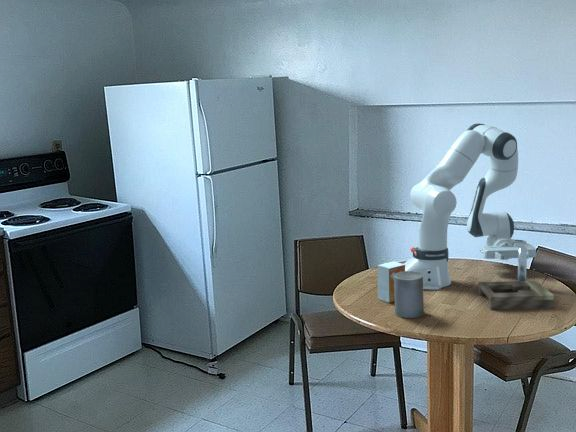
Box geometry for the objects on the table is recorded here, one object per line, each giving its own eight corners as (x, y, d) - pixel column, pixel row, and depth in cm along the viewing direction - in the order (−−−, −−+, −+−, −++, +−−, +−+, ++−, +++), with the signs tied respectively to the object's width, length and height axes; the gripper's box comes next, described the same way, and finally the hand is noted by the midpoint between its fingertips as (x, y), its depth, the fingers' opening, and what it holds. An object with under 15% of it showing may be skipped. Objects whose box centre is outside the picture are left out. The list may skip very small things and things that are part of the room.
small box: (389, 303, 227) (388, 268, 225) (377, 299, 232) (376, 264, 230) (405, 298, 232) (405, 264, 229) (394, 294, 237) (393, 260, 234)
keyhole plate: (490, 309, 216) (491, 297, 215) (478, 294, 233) (478, 282, 232) (553, 308, 215) (553, 295, 214) (536, 292, 232) (536, 280, 231)
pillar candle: (411, 306, 223) (410, 265, 220) (429, 314, 214) (429, 272, 211) (389, 312, 218) (387, 270, 215) (406, 320, 210) (405, 277, 207)
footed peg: (516, 289, 236) (517, 250, 233) (511, 284, 242) (512, 246, 239) (532, 288, 236) (533, 249, 233) (527, 283, 242) (528, 245, 239)
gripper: (478, 241, 260) (487, 250, 246) (529, 240, 259) (541, 248, 245) (478, 256, 261) (487, 265, 248) (528, 255, 260) (540, 264, 247)
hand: (514, 257), depth 246 cm, fingers open, 8 cm apart
